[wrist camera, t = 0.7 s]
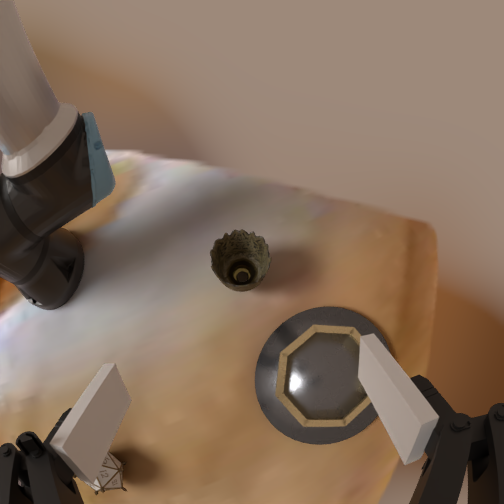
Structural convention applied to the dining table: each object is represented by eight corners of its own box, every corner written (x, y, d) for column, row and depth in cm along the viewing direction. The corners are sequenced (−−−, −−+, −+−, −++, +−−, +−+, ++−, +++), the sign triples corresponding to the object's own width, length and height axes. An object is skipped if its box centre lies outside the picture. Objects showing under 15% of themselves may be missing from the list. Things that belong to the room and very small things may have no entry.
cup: (270, 299, 40) (275, 282, 33) (219, 304, 40) (211, 288, 33) (264, 251, 43) (266, 226, 36) (215, 256, 43) (208, 231, 36)
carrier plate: (225, 368, 36) (223, 368, 34) (332, 281, 41) (335, 277, 39) (314, 467, 30) (317, 471, 28) (411, 375, 35) (418, 374, 33)
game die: (114, 463, 32) (64, 474, 24) (110, 427, 32) (54, 437, 24) (145, 495, 27) (91, 513, 19) (143, 460, 27) (80, 478, 19)
